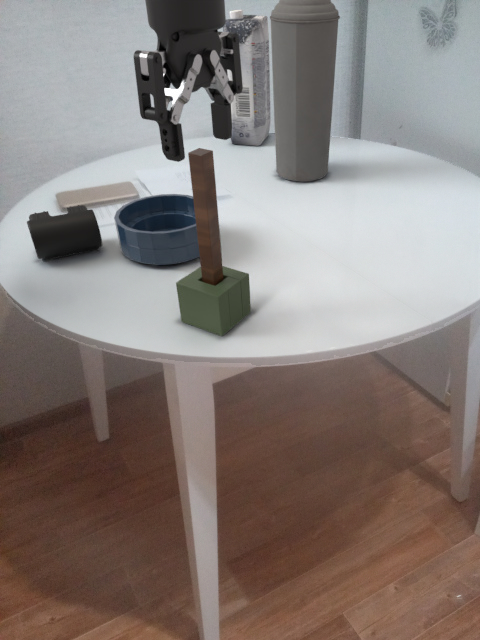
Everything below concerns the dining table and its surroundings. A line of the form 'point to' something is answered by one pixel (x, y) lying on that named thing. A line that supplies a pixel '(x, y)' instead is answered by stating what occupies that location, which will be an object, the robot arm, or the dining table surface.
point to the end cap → (64, 233)
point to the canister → (303, 85)
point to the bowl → (158, 229)
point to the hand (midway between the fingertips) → (200, 148)
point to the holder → (214, 300)
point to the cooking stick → (206, 214)
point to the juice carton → (251, 79)
